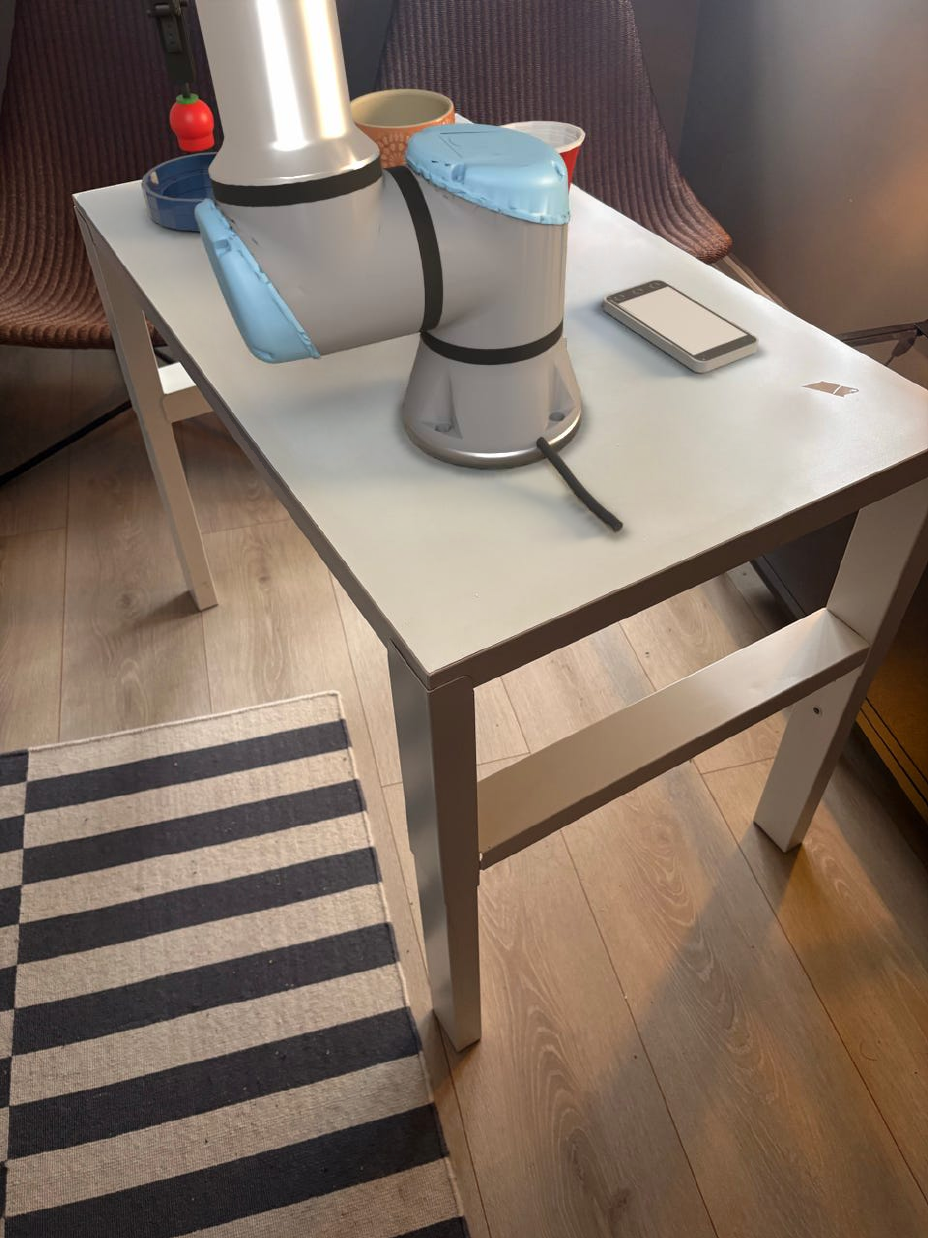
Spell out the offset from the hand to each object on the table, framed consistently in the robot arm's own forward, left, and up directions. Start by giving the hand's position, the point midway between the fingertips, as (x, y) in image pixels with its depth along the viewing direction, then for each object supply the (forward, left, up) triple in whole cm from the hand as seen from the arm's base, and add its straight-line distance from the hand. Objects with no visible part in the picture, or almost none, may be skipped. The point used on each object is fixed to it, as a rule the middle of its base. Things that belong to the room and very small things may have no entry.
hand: (183, 79), depth 110 cm
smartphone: (-37, -47, -14) cm, 61 cm away
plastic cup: (-17, -36, -15) cm, 42 cm away
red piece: (0, 0, -7) cm, 7 cm away
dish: (0, 0, -14) cm, 14 cm away
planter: (-4, -23, -14) cm, 27 cm away
